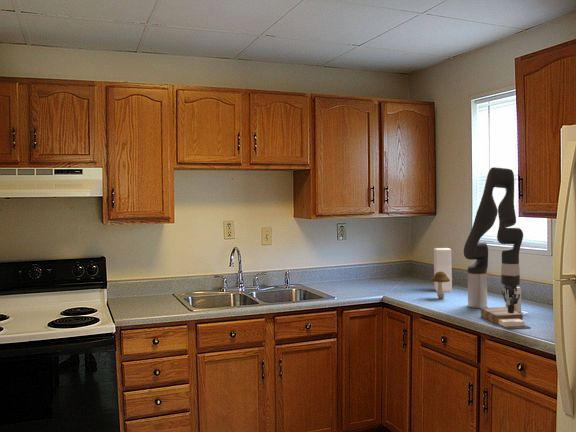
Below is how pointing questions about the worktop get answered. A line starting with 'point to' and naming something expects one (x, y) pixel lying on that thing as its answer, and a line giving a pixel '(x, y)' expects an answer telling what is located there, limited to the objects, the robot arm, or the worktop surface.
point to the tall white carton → (443, 267)
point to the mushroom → (440, 282)
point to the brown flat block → (499, 314)
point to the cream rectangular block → (511, 322)
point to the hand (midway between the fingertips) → (510, 313)
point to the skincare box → (517, 306)
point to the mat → (517, 327)
